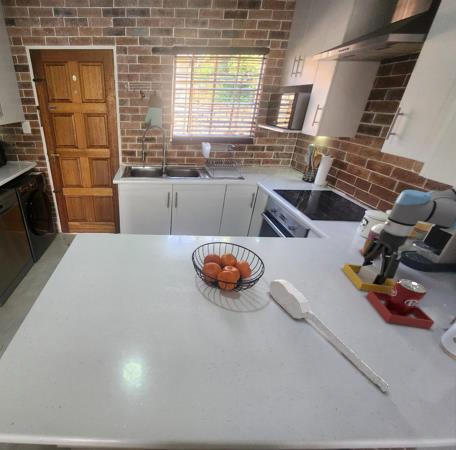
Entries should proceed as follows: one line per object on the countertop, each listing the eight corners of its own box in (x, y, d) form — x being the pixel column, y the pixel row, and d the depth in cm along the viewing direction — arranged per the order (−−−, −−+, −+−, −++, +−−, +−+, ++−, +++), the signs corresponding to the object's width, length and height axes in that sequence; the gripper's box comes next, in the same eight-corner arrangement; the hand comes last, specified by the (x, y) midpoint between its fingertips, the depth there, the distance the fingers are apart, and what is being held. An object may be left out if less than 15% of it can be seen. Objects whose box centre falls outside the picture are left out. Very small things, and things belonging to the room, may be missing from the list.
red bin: (401, 303, 91) (407, 295, 89) (428, 331, 80) (434, 322, 78) (365, 298, 92) (369, 290, 91) (385, 324, 82) (391, 315, 80)
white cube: (370, 288, 97) (377, 275, 94) (355, 278, 102) (361, 266, 99) (381, 285, 99) (388, 273, 96) (366, 276, 104) (372, 264, 101)
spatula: (366, 403, 62) (377, 397, 63) (384, 386, 58) (395, 381, 59) (265, 292, 92) (274, 290, 93) (272, 276, 88) (281, 274, 89)
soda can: (376, 307, 88) (392, 281, 82) (388, 302, 90) (404, 276, 85) (401, 323, 82) (420, 295, 76) (413, 317, 84) (432, 290, 79)
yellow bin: (375, 275, 105) (379, 267, 104) (396, 296, 94) (401, 288, 92) (341, 271, 107) (345, 263, 106) (358, 291, 96) (362, 283, 94)
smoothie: (355, 250, 124) (372, 213, 114) (373, 252, 123) (392, 215, 114) (365, 259, 116) (384, 221, 107) (384, 261, 115) (405, 223, 106)
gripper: (367, 219, 100) (345, 265, 110) (403, 245, 81) (373, 297, 92) (388, 221, 99) (364, 267, 109) (429, 248, 80) (395, 301, 90)
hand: (368, 281), depth 100 cm, fingers closed on white cube, 8 cm apart
